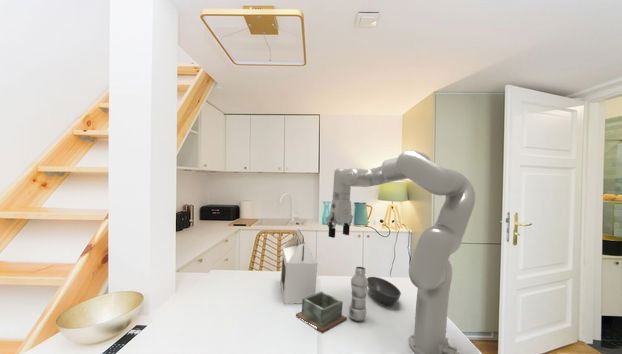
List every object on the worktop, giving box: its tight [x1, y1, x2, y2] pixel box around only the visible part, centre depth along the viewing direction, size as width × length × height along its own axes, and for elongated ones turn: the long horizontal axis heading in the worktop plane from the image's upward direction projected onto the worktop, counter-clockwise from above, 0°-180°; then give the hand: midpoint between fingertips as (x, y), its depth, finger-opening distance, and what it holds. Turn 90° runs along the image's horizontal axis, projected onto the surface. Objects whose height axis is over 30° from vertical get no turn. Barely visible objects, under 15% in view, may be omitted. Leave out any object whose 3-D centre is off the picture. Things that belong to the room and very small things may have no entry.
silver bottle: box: [348, 266, 368, 322], centre depth 104 cm, size 6×7×20 cm
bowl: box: [366, 276, 402, 308], centre depth 123 cm, size 12×22×6 cm, turn 14°
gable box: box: [280, 229, 319, 305], centre depth 124 cm, size 22×13×28 cm, turn 11°
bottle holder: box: [295, 291, 348, 334], centre depth 103 cm, size 14×14×7 cm
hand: (338, 235), depth 116 cm, fingers open, 9 cm apart
